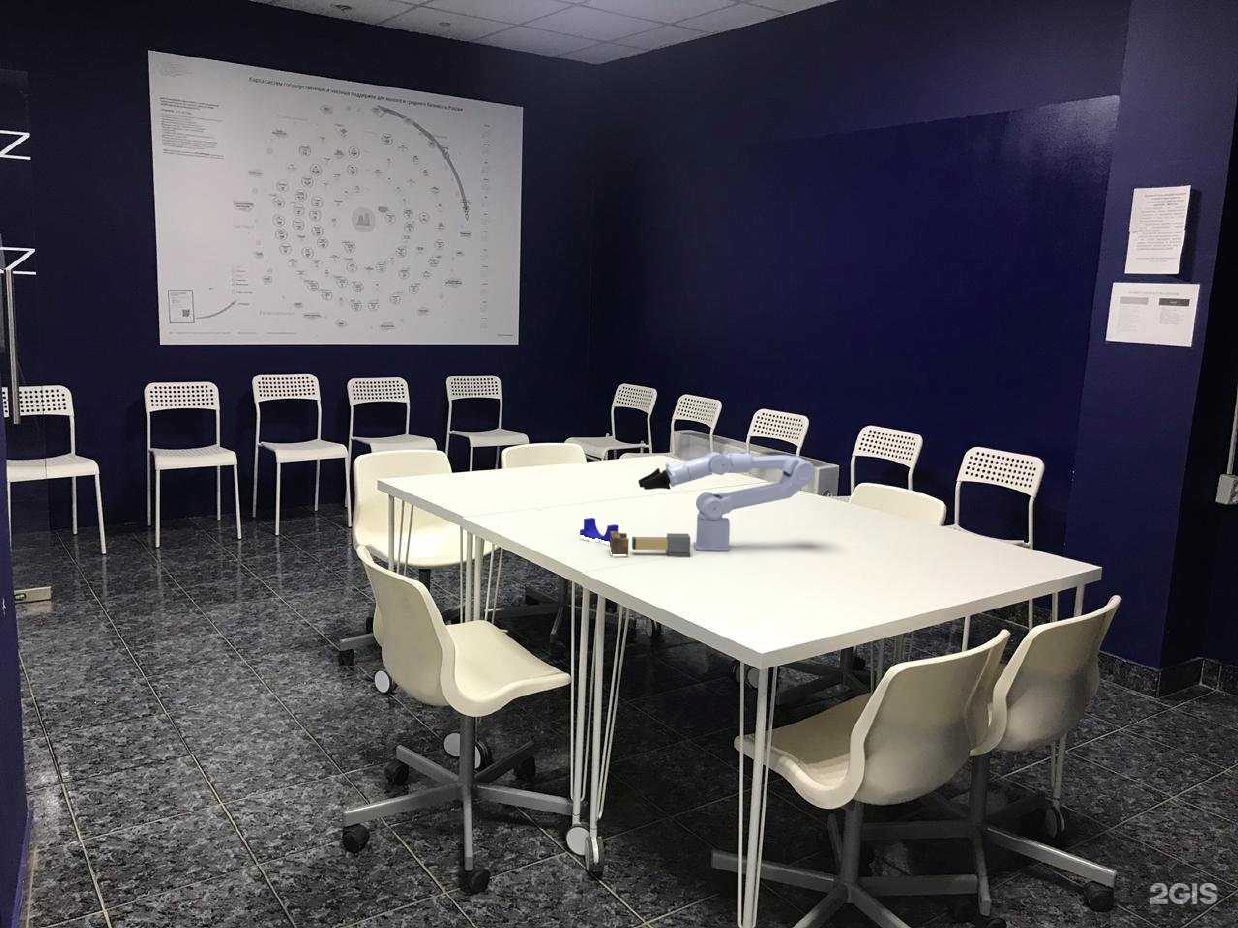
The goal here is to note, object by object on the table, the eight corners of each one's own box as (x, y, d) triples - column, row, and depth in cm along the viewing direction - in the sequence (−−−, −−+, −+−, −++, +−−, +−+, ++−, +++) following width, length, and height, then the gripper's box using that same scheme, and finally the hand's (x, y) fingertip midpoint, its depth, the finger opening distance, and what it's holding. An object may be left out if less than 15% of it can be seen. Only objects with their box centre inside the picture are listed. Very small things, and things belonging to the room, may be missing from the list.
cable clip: (579, 539, 297) (580, 519, 297) (591, 537, 300) (591, 517, 300) (606, 547, 289) (606, 527, 288) (617, 545, 292) (618, 525, 291)
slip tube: (682, 547, 284) (683, 537, 283) (684, 550, 281) (684, 539, 280) (631, 547, 282) (632, 536, 282) (632, 549, 279) (633, 539, 279)
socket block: (625, 550, 285) (626, 531, 284) (628, 557, 277) (628, 537, 276) (610, 549, 285) (610, 531, 284) (611, 556, 277) (612, 537, 276)
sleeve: (687, 551, 285) (687, 533, 285) (689, 556, 279) (690, 538, 279) (666, 551, 285) (666, 532, 284) (668, 556, 279) (669, 537, 278)
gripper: (677, 457, 293) (633, 470, 291) (688, 460, 278) (642, 473, 277) (684, 480, 294) (640, 493, 292) (694, 484, 279) (648, 497, 278)
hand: (641, 485), depth 284 cm, fingers open, 7 cm apart
